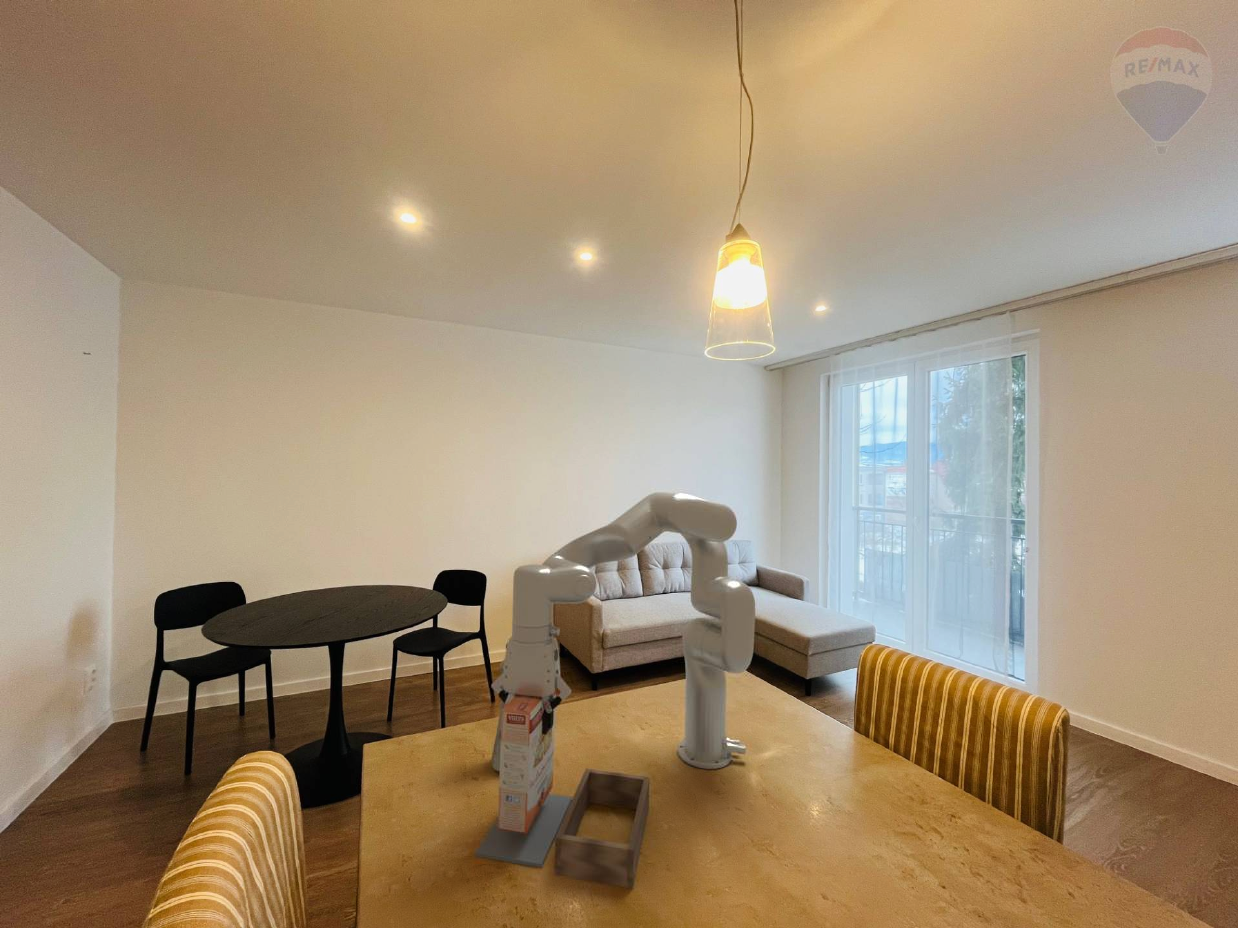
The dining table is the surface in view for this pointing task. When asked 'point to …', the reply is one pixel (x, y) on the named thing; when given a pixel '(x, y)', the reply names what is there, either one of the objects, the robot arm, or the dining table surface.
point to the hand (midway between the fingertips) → (529, 727)
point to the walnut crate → (595, 855)
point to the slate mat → (527, 836)
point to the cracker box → (524, 763)
